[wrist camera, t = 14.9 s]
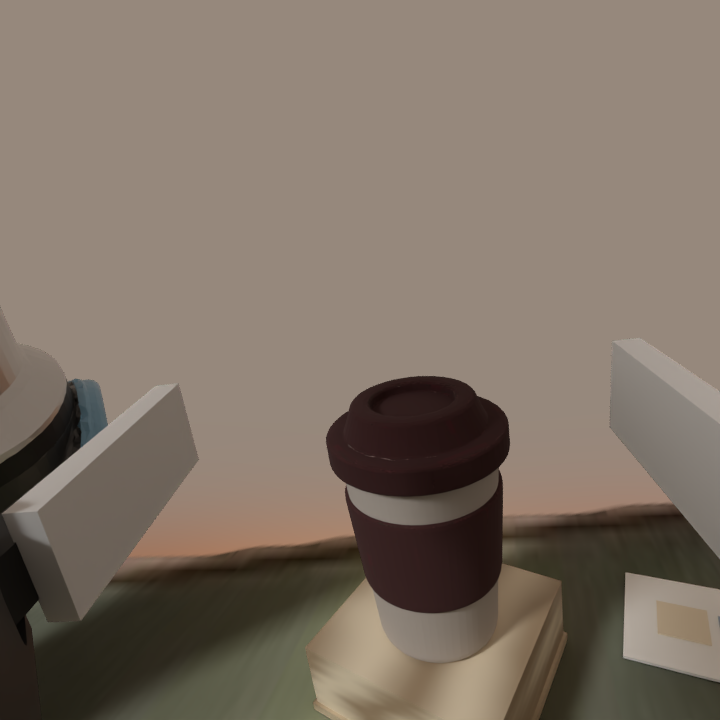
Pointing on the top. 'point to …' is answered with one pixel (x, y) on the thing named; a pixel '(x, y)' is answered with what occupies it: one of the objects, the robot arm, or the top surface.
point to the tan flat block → (442, 680)
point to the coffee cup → (426, 509)
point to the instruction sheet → (672, 625)
